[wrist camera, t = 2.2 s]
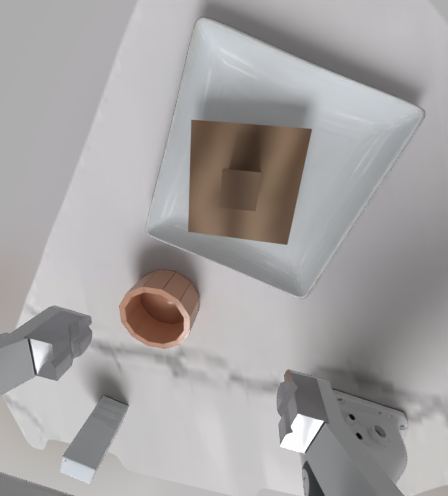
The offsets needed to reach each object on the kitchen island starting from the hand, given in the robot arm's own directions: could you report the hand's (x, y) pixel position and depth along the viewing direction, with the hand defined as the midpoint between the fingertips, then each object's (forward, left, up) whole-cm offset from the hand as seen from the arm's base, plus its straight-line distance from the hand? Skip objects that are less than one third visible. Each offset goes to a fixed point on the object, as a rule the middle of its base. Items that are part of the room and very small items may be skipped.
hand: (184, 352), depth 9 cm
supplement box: (+28, +54, -26) cm, 66 cm away
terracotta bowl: (+12, +17, -26) cm, 33 cm away
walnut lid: (0, -5, -23) cm, 23 cm away
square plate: (-3, -5, -27) cm, 27 cm away
